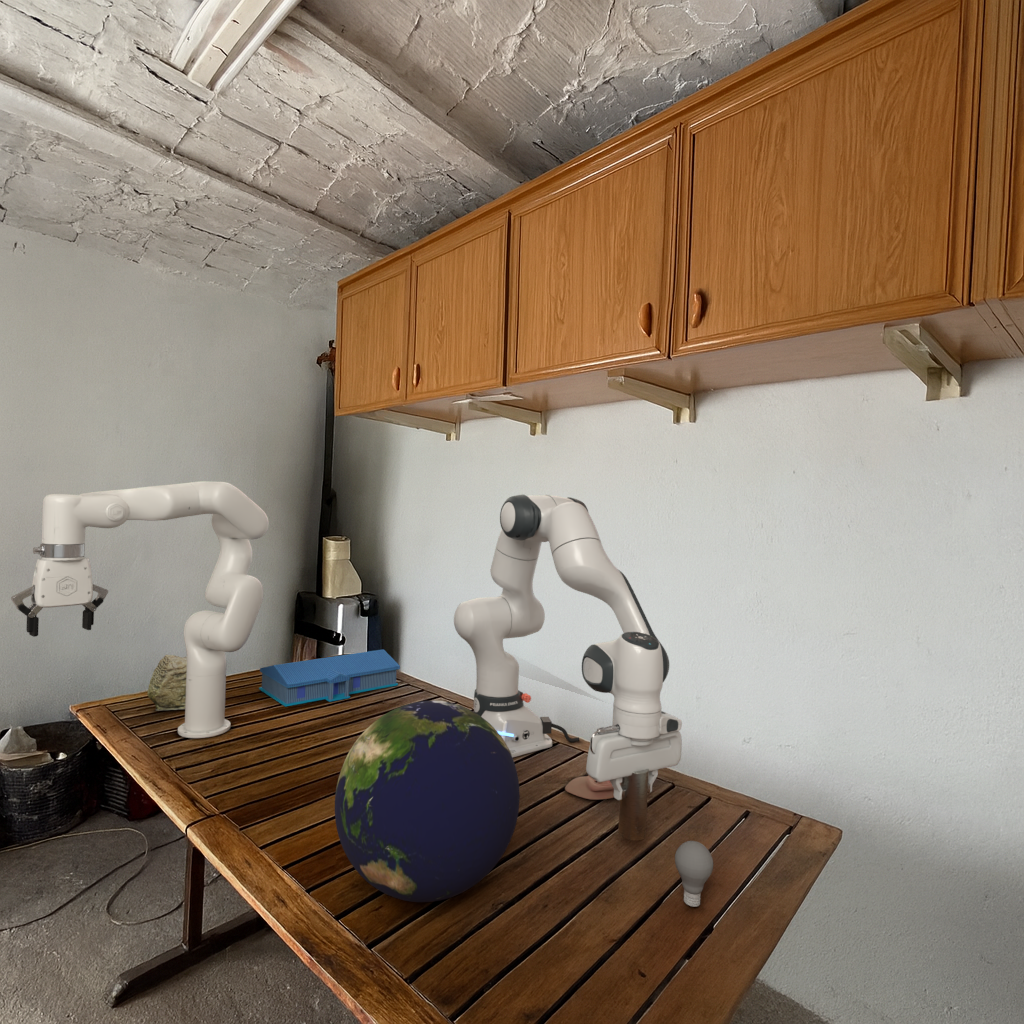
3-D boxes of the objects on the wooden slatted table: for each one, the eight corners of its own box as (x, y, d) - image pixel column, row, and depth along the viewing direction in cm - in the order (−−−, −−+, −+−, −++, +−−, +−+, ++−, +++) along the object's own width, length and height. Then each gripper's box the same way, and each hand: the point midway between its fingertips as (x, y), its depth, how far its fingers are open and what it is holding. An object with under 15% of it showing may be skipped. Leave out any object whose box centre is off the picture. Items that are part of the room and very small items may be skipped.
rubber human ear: (563, 778, 138) (569, 757, 150) (563, 796, 138) (569, 774, 150) (625, 786, 136) (626, 764, 147) (624, 804, 136) (625, 781, 147)
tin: (647, 830, 120) (651, 765, 119) (642, 843, 115) (646, 775, 115) (621, 824, 121) (624, 759, 121) (615, 836, 117) (619, 769, 117)
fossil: (144, 707, 182) (145, 655, 182) (212, 696, 194) (213, 647, 194) (151, 716, 175) (153, 662, 175) (221, 703, 188) (223, 653, 188)
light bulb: (667, 892, 105) (670, 833, 105) (702, 892, 106) (705, 833, 106) (680, 916, 99) (683, 853, 99) (717, 916, 100) (720, 853, 100)
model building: (289, 709, 186) (291, 675, 185) (258, 688, 204) (259, 657, 204) (403, 687, 212) (405, 657, 212) (366, 670, 230) (368, 643, 230)
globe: (289, 913, 96) (297, 717, 96) (396, 823, 124) (403, 671, 123) (466, 976, 85) (475, 755, 84) (540, 862, 113) (548, 695, 112)
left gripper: (19, 555, 125) (16, 641, 126) (115, 552, 139) (113, 629, 139) (7, 552, 130) (4, 635, 130) (101, 549, 144) (99, 624, 144)
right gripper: (602, 735, 110) (598, 814, 110) (688, 720, 120) (685, 792, 120) (581, 723, 116) (577, 798, 116) (665, 709, 126) (662, 778, 126)
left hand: (60, 632), depth 135 cm, fingers open, 9 cm apart
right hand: (633, 795), depth 118 cm, fingers closed on tin, 5 cm apart
